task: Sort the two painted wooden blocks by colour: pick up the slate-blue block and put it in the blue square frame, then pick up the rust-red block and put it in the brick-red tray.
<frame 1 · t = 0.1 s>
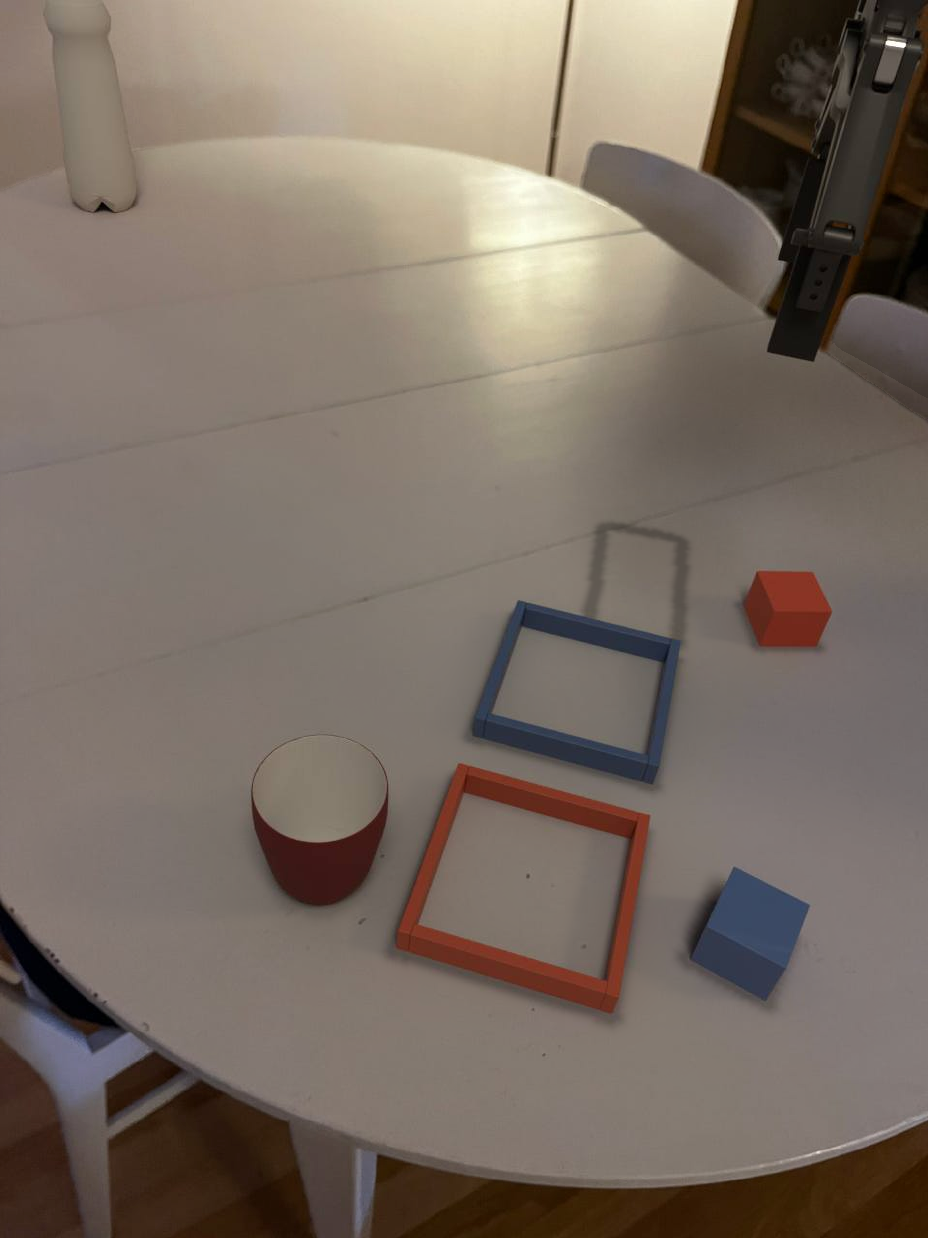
hand: (794, 305, 64), 31 cm above the table, tool pointing down, fingers open, 13 cm apart
mug: (329, 866, 68), on the table
red block: (776, 633, 88), on the table
bottle: (105, 204, 141), on the table
red tray: (525, 894, 67), on the table
blue square frame: (576, 703, 80), on the table
blue block: (737, 956, 65), on the table
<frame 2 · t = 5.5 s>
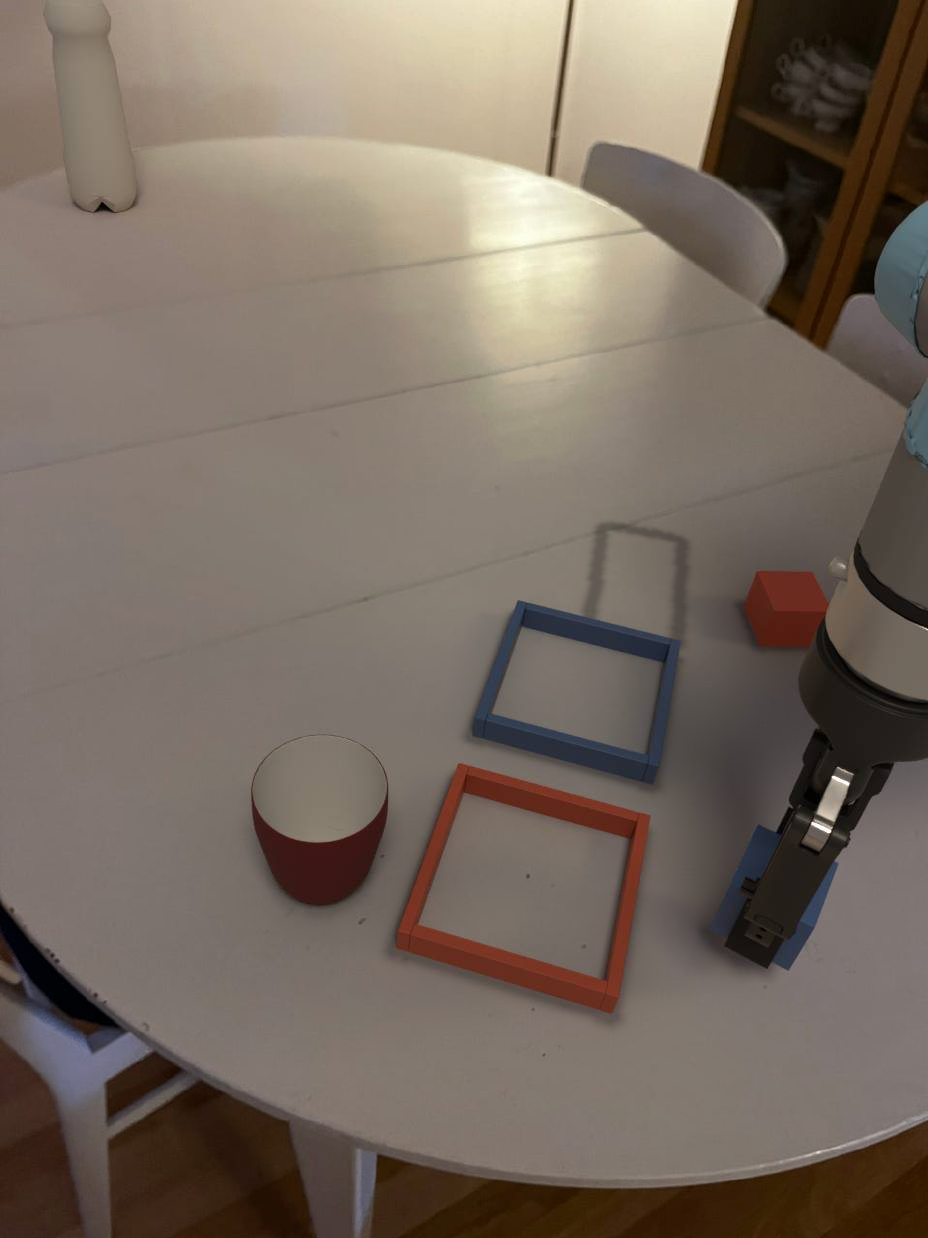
hand: (763, 915, 62), 5 cm above the table, tool pointing down, fingers closed on blue block, 5 cm apart
blue block: (761, 918, 62), point 4 cm above the table, touching gripper
everything else where it was.
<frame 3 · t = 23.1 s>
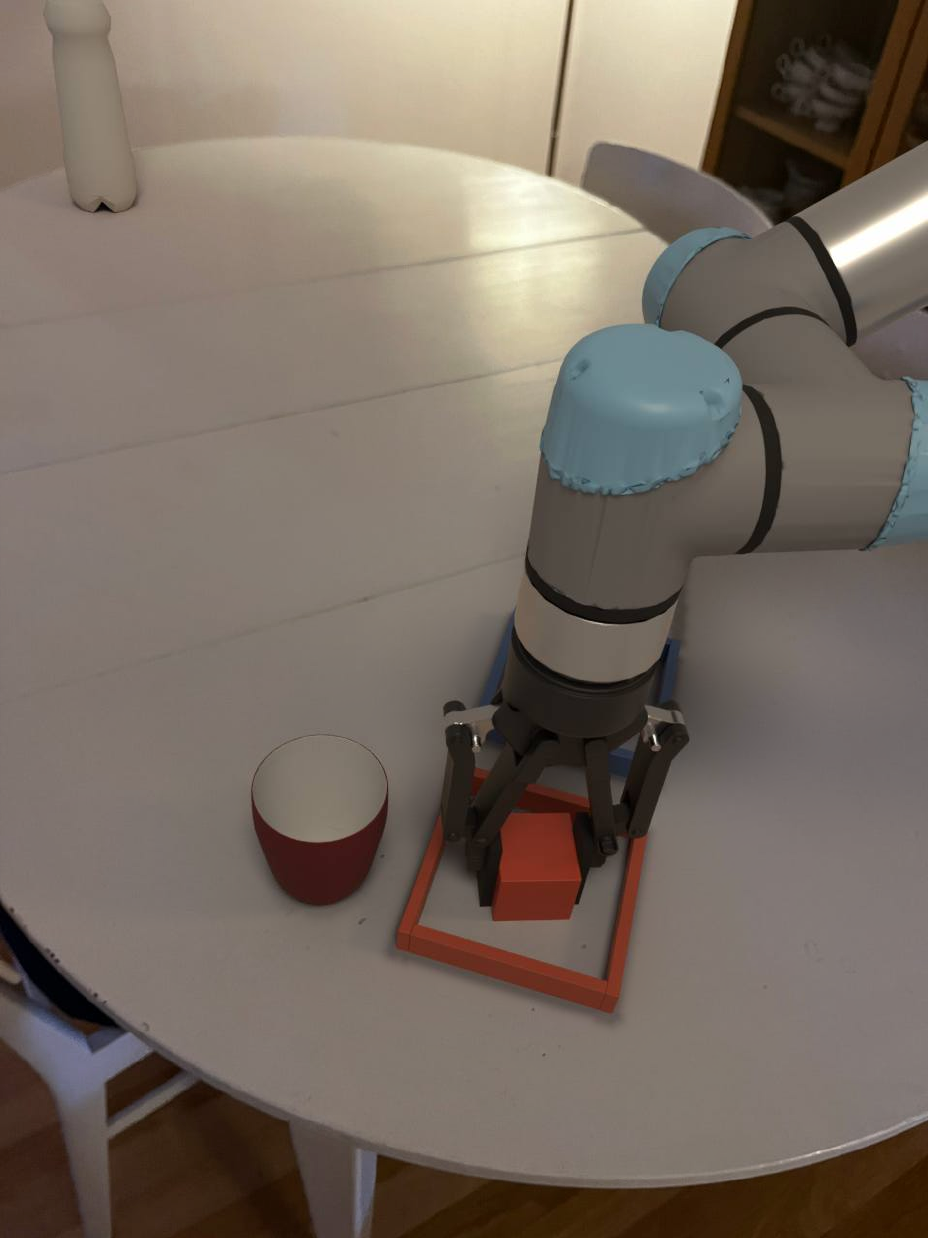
hand: (526, 888, 67), 1 cm above the table, tool pointing down, fingers closed on red block, 5 cm apart
red block: (526, 889, 67), point 1 cm above the table, touching gripper, red tray
blue block: (576, 698, 80), resting on blue square frame
everything else where it was.
when the fingers open (2 cm above the table, at t = 24.4 s): red block stays where it is, resting on red tray.
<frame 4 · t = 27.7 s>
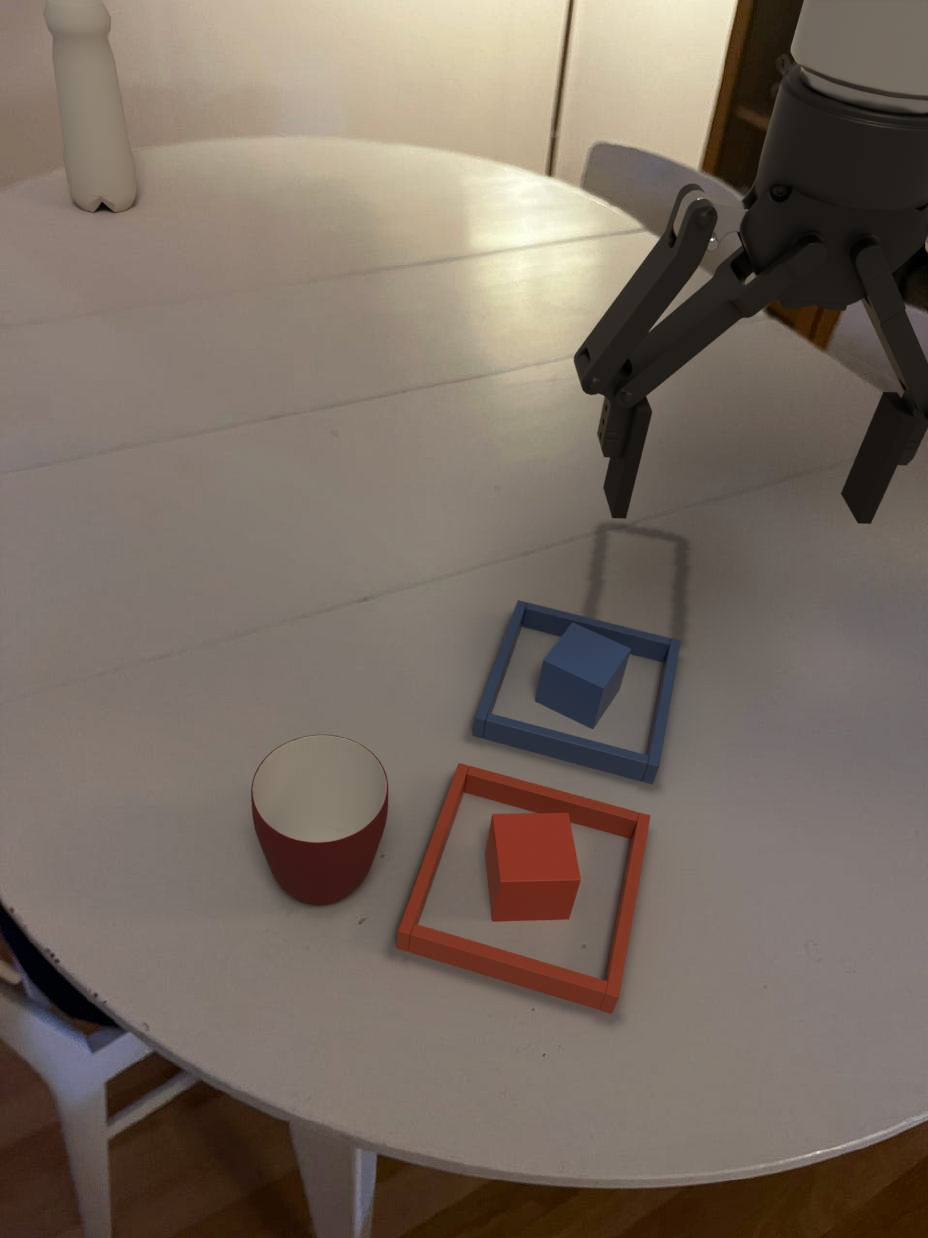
hand: (736, 506, 55), 27 cm above the table, tool pointing down, fingers open, 13 cm apart
red block: (525, 889, 67), resting on red tray
everything else where it was.
at the end: blue block inside the target area in the blue square frame (0.1 cm from its centre), point 0.5 cm above the blue square frame's base; red block inside the target area in the red tray (0.1 cm from its centre), point 0.5 cm above the red tray's base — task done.
